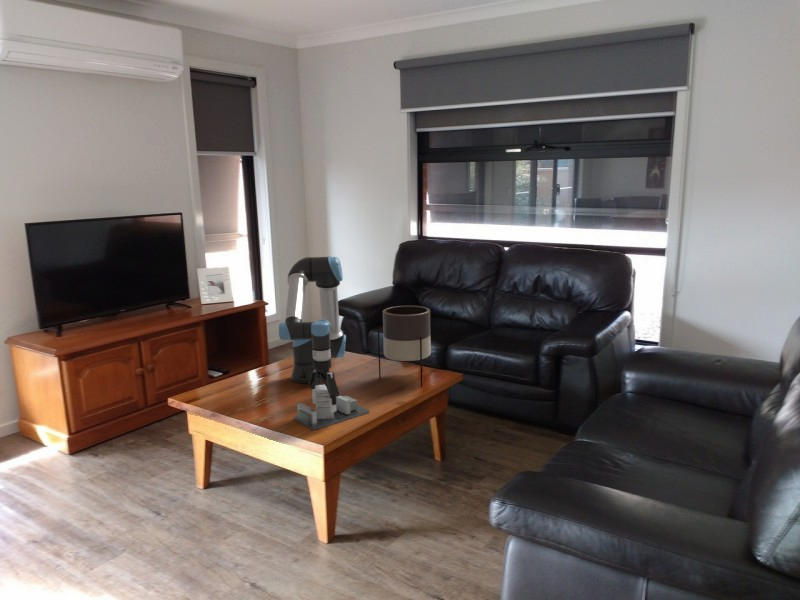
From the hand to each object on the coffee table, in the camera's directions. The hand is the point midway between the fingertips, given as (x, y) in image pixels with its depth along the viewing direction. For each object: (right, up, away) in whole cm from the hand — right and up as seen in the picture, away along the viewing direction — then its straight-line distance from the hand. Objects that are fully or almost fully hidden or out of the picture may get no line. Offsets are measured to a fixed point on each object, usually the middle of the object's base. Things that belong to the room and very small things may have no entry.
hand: (324, 407), depth 253 cm
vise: (+3, -4, +3) cm, 6 cm away
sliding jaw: (+8, -2, +7) cm, 11 cm away
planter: (+37, +5, +49) cm, 61 cm away
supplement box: (0, -4, +1) cm, 4 cm away
